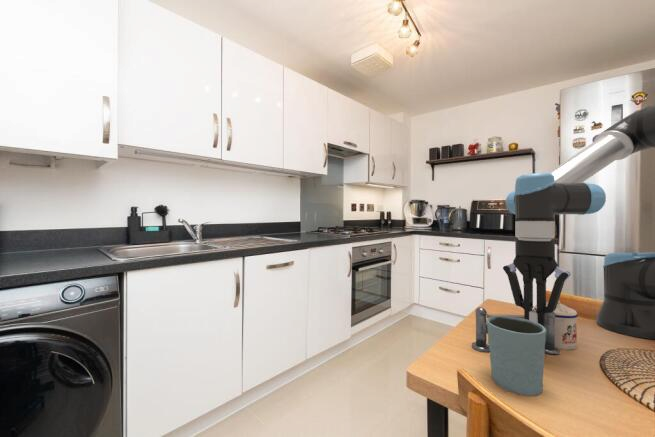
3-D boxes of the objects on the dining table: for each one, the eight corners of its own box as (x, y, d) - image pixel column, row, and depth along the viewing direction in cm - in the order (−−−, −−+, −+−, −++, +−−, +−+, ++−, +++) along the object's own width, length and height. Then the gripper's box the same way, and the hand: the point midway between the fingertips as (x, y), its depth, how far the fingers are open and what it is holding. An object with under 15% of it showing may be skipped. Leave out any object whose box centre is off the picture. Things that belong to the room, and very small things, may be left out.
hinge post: (552, 347, 72) (551, 306, 72) (564, 355, 68) (564, 312, 68) (533, 346, 73) (533, 306, 73) (545, 354, 68) (545, 311, 68)
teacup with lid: (571, 354, 68) (571, 306, 68) (528, 340, 76) (528, 298, 76) (586, 342, 75) (586, 298, 75) (545, 330, 83) (545, 291, 83)
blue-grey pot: (519, 402, 51) (519, 336, 51) (475, 372, 60) (475, 317, 60) (559, 392, 53) (559, 329, 53) (511, 365, 63) (511, 312, 63)
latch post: (489, 344, 74) (489, 304, 74) (497, 352, 69) (497, 310, 69) (468, 343, 74) (468, 304, 74) (475, 351, 70) (475, 309, 70)
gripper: (574, 240, 63) (574, 343, 63) (509, 237, 74) (509, 326, 74) (565, 241, 59) (566, 353, 59) (497, 238, 69) (498, 334, 69)
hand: (534, 338), depth 66 cm, fingers closed
